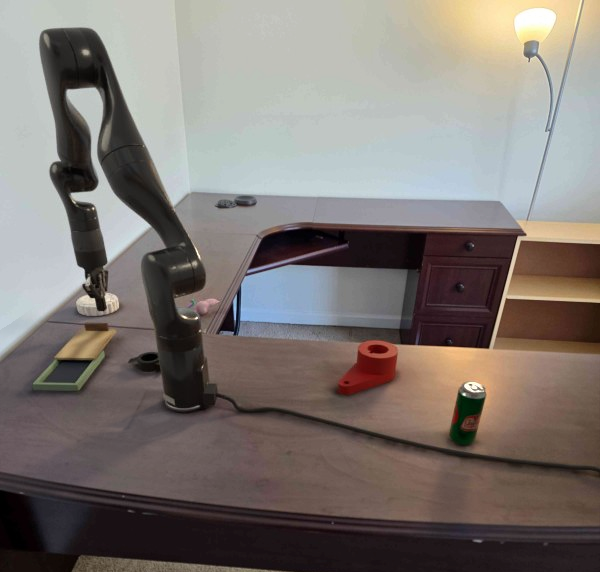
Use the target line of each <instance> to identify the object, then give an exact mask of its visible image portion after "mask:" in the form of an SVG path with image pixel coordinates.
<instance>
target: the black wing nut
mask: <svg viewBox="0 0 600 572" xmlns="http://www.w3.org/2000/svg"><path fill="white" fill-rule="evenodd" d="M127 364H133V365H137V366H138V370H139V371H140V372H143V373H144V372H145V373H152V372H155V373H158V372H161V369H160V363H159V356H158V351H157V352H156V351H147V352H143V353H141V354H139V355H137V356H135V357H132V358H130V359H128V361H127Z"/></svg>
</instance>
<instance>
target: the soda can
mask: <svg viewBox="0 0 600 572" xmlns="http://www.w3.org/2000/svg"><path fill="white" fill-rule="evenodd" d="M486 398H487V392H486V387H485V385H484V384H481V383H480V382H476V381H465V382H462V384H461V386H460V387H459V388H458V390H457V394H456V398H455V404H454V409H453V412H452V417H451V418H452V419H451V422H450V427H449V431H448V437H449V439H450V440H451V441H452V442H453V443H454V444H456V445H459V446H469V445H472V444H473V443H475V441H476V437H477V434H478V430H479V426H480V423H481V418H482V413H483V411H484V410H483V409H484V407H485V403H486Z"/></svg>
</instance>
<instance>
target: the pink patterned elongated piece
mask: <svg viewBox="0 0 600 572" xmlns="http://www.w3.org/2000/svg"><path fill="white" fill-rule="evenodd" d="M220 302H221V301H220V300H218V299H216V298H207V299H205V300H200V301H198V302H196V301H195V300H194V299H193V298H192V299H190V300H189V303H188V304H187V307H186V308H187V309H191V308H193V307H194V309H192V310H193V311H195V312H197V313H198V314H199V316H204V315H205V314H206V313H207V312H208V311H209V310H210V308H212V307H213V306H214V305H216V304H217V303H220Z"/></svg>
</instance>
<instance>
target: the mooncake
mask: <svg viewBox="0 0 600 572" xmlns="http://www.w3.org/2000/svg"><path fill="white" fill-rule="evenodd" d="M105 293H106V295H105V296H104V297H105V301H106V306H107V309H106V310H105V311H98V310H97V307H96V302H95V298H90V297H89V296H88V294H86V295H82V296H80V297H79V298H78V299H76V302H75V304H76V309H77V312H78V313H79V314H80V315H82V316H87V317H101V316H107V315H109V314H113V313H114V312H116V311H118V309H119V308H120V303H119V298H118V296H117V295H116V294H113V293H111V292H105Z"/></svg>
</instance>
